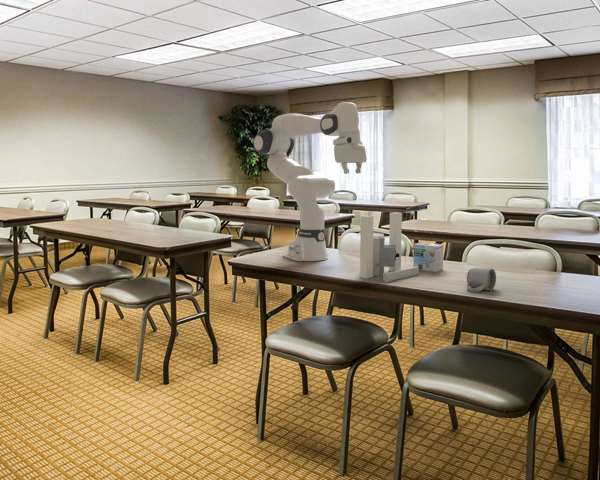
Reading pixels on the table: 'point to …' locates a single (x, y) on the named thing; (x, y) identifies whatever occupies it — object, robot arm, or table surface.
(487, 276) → the ceramic mug
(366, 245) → the post
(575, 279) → the table surface
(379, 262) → the circuit breaker
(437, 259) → the light bulb box
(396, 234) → the post
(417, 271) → the bar
